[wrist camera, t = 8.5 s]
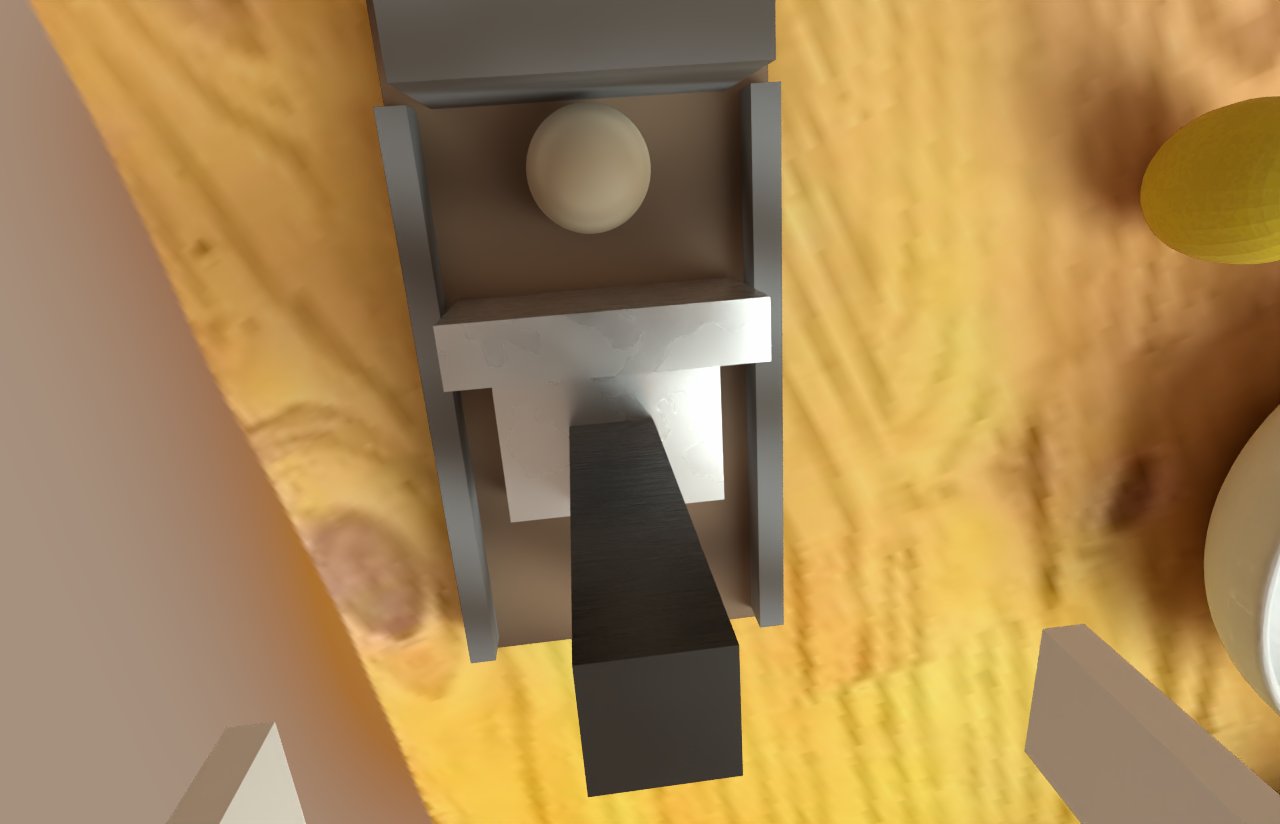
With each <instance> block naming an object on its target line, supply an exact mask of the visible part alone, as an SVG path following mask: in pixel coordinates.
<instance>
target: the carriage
mask: <svg viewBox="0 0 1280 824" xmlns="http://www.w3.org/2000/svg"><path fill="white" fill-rule="evenodd" d="M433 329H434V335H435V341H436V347H437V353H438V359H439V365H440V371H441V377H442V383H443V389H444V392H450V391H460V390H471V389H482V388H492V393H493V400H494V407H495V414H496V421H497V428H498V435H499V442H500V449H501V456H502V463H503V470H504V477H505V484H506V492H507V499H508V506H509V513H510V520H511V522H521V521H530V520H539V519H548V518H557V517H566V516H570V530H571V607H572V668H573V676H574V684H575V693H576V701H577V709H578V718H579V726H580V734H581V743H582V751H583V759H584V767H585V776H586V784H587V792H588V797H593V796H600V795H607V794H614V793H622V792H629V791H636V790H643V789H650V788H657V787H664V786H672V785H679V784H686V783H693V782H700V781H707V780H714V779H722V778H729V777H736V776H743V764H742V729H741V695H740V660H739V644H738V641H737V638H736V636H735V633H734V630H733V628H732V625H731V623H730V620H729V617H728V615H727V612H726V609H725V607H724V604H723V601H722V599H721V596H720V594H719V591H718V588H717V586H716V583H715V580H714V578H713V575H712V573H711V570H710V567H709V565H708V562H707V559H706V557H705V554H704V551H703V549H702V546H701V544H700V541H699V538H698V536H697V533H696V530H695V528H694V525H693V523H692V520H691V517H690V515H689V512H688V509H687V507H686V503H695V502H704V501H713V500H723V499H724V472H723V443H722V414H721V385H720V366H726V365H737V364H747V363H758V362H768V361H771V297H770V296H768V295H766V294H764V293H763V292H761V291H759V290H757V289H755V288H753V287H751V286H749V285H747V284H745V283H743V282H742V281H740V280H738V279H736V278H734V277H724V278H712V279H701V280H689V281H677V282H665V283H653V284H641V285H629V286H618V287H606V288H594V289H582V290H570V291H558V292H546V293H535V294H523V295H511V296H499V297H487V298H475V299H463V300H458V301H457V302H456V303H455V304H454V305H453V306H452V307H451V308H450V309H449V310H448V311H447V312H446V313H445V314H444V315H443V316H442V317H441V318H440V319H439V320H438V321H437V322H436V323H435V324H434V326H433Z"/></svg>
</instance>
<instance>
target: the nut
mask: <svg viewBox="0 0 1280 824" xmlns="http://www.w3.org/2000/svg"><path fill="white" fill-rule="evenodd" d="M526 175H527V181H528V185H529V188H530V191H531V193H532V196H533V198H534V200H535V201H536V203H537V205H538V206H539V208H540V209H541V210H542V211H543V213H544V214H545V215H546V216H547V217H548V218H549V219H551V220H552V221H553V222H555V223H556V224H558V225H559V226H561V227H563V228H565V229H568V230H570V231H574V232H577V233H584V234H596V233H603V232H606V231H609V230H612V229H614V228H616V227H618V226H620V225H622V224H623V223H625V222H626V221H627V220H628V219H630V218H631V217H632V216H633V215H634V213H635V212H636V211H637V210H638V208H639V207H640V206H641V204H642V202H643V200H644V198H645V196H646V193H647V191H648V187H649V183H650V175H651V164H650V156H649V152H648V148H647V146H646V143H645V140H644V139H643V137H642V135H641V133H640V131H639V130H638V129H637V127H636V126H635V125H634V124H633V123H632V121H631V120H630V119H629V118H627V117H626V116H625V115H624V114H622V113H621V112H619V111H618V110H616V109H614V108H612V107H610V106H607V105H604V104H600V103H595V102H579V103H573V104H570V105H567V106H564V107H562V108H560V109H558V110H556V111H555V112H553V113H552V114H551V115H549V116H548V117H547V118H546V119H545V120H544V121H543V122H542V123H541V124H540V126H539V127H538V129H537V130H536V132H535V133H534V135H533V137H532V139H531V142H530V145H529V148H528V153H527V158H526Z"/></svg>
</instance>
